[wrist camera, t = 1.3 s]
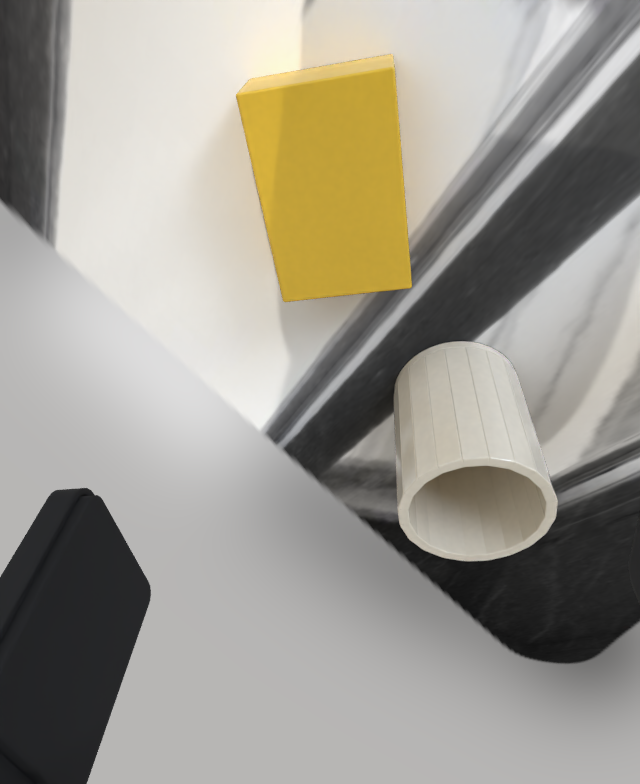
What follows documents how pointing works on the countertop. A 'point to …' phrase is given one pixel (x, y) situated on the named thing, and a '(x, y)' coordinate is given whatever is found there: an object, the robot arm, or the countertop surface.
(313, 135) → the block
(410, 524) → the cup
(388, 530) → the countertop surface
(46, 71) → the countertop surface
